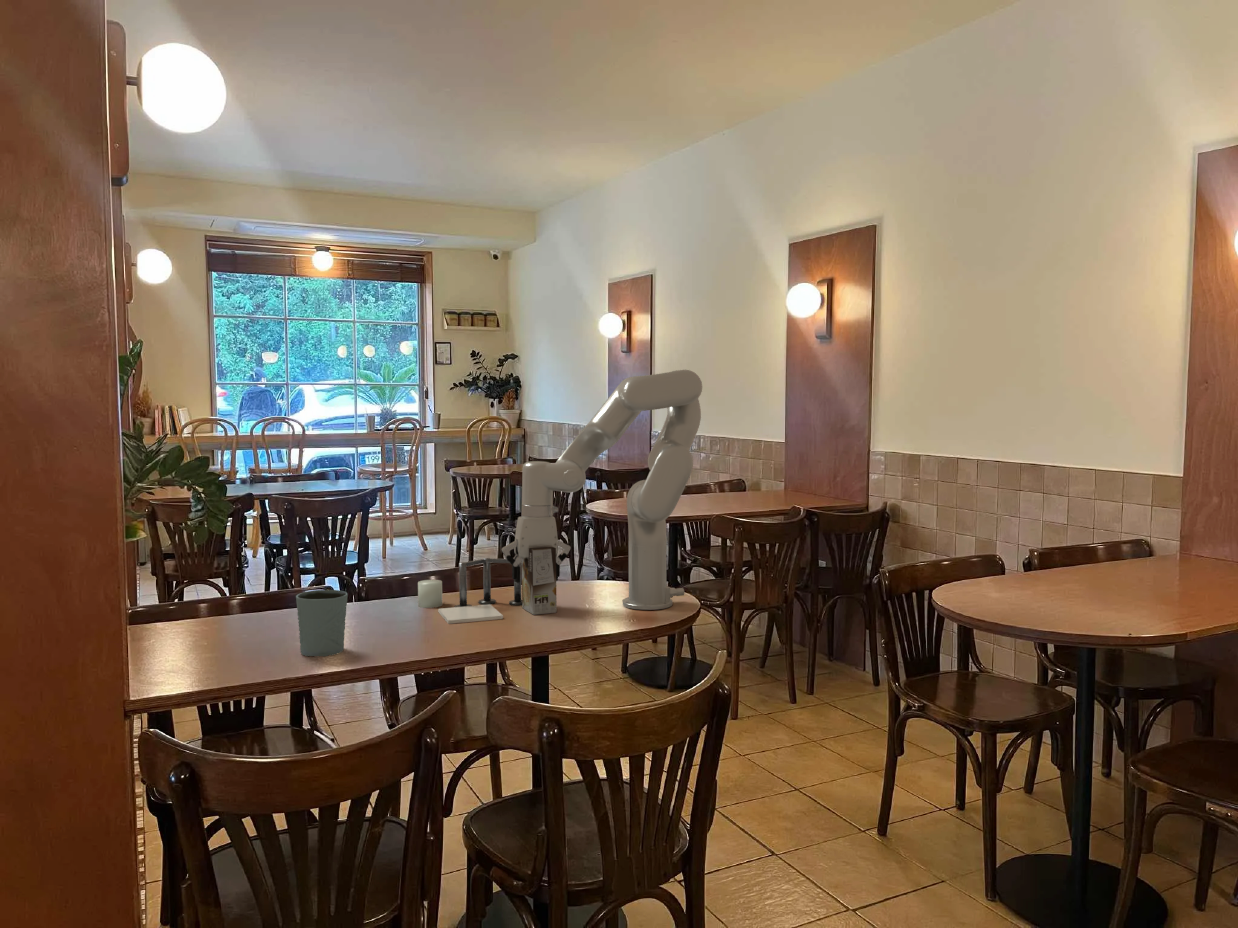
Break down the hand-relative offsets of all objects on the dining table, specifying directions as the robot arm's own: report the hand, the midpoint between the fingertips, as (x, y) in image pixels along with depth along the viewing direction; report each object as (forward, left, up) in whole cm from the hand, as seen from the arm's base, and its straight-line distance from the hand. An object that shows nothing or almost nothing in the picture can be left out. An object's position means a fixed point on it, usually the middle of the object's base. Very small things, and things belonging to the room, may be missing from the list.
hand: (535, 580), depth 227 cm
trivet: (+16, -1, -7) cm, 18 cm away
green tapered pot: (+51, +19, -8) cm, 55 cm away
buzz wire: (+9, -11, -7) cm, 16 cm away
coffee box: (-1, 0, -8) cm, 8 cm away
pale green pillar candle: (+23, -16, -7) cm, 29 cm away
